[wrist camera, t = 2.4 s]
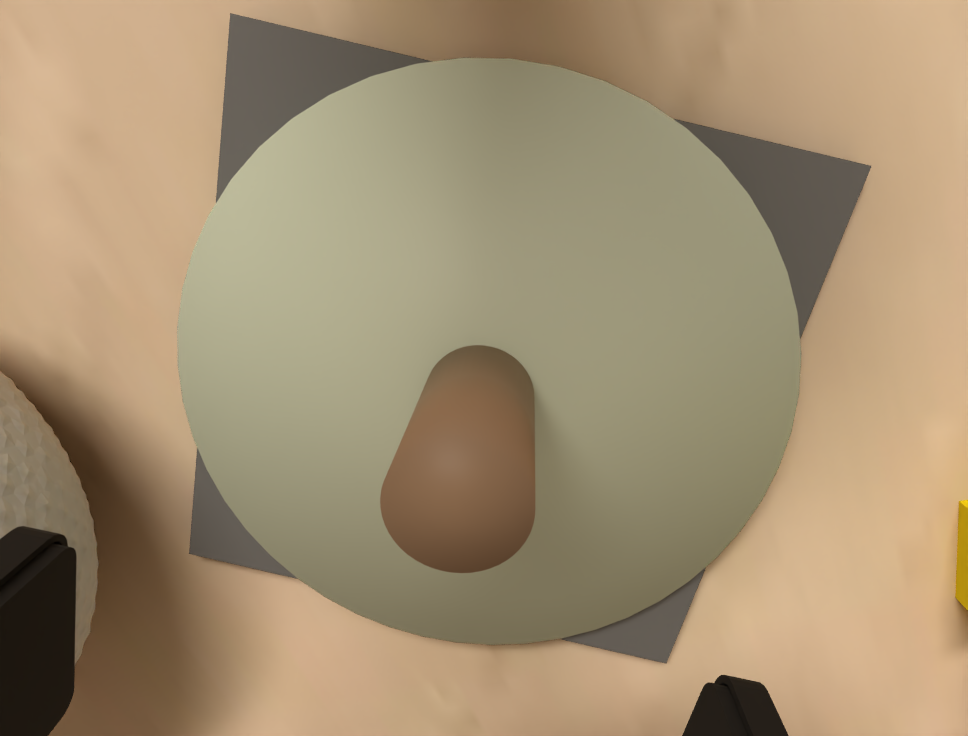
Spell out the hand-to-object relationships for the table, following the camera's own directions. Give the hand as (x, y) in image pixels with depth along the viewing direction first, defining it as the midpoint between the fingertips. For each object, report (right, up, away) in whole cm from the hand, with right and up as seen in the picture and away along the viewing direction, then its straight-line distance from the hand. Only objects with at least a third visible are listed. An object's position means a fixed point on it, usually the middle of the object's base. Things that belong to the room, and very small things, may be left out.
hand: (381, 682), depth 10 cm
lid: (+1, +4, +10) cm, 11 cm away
